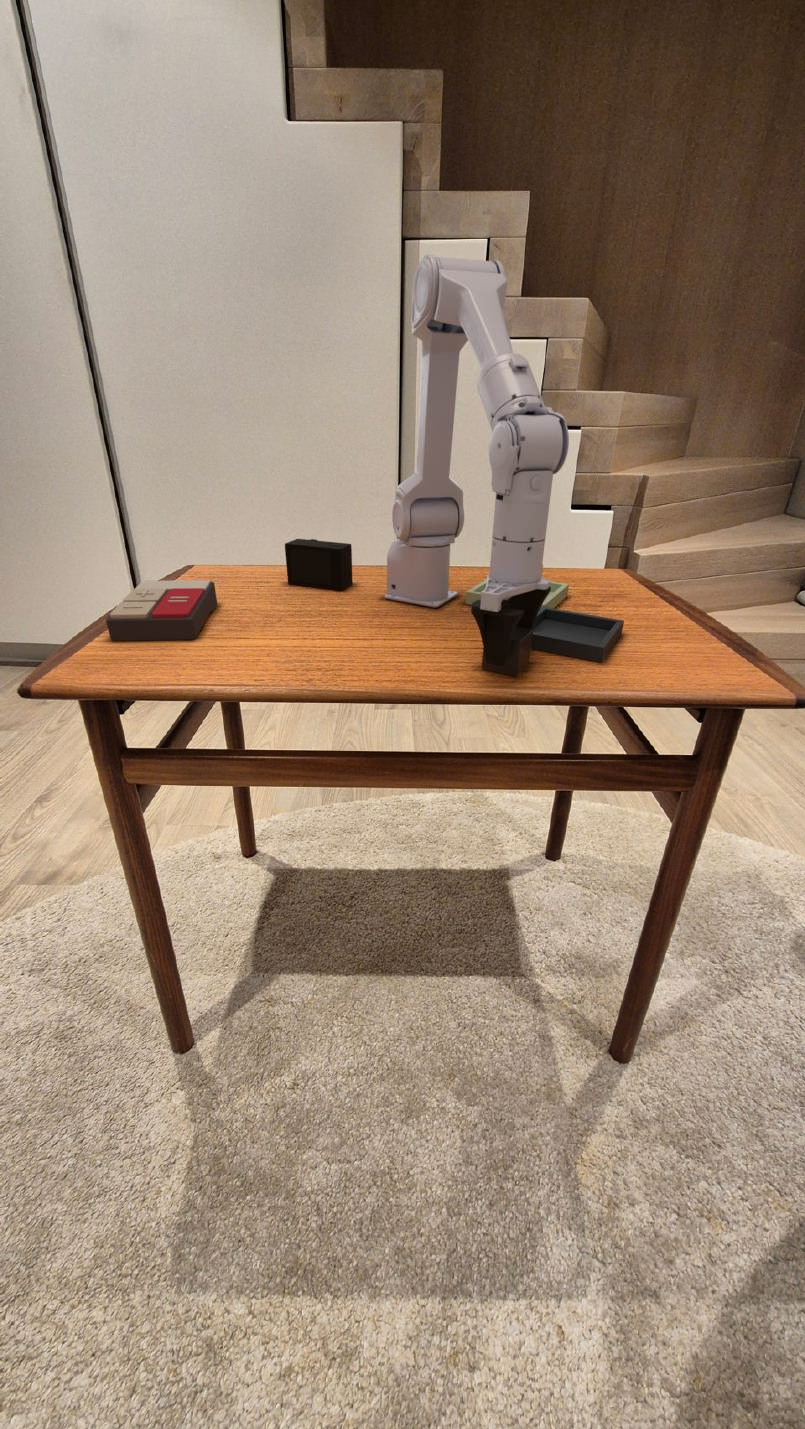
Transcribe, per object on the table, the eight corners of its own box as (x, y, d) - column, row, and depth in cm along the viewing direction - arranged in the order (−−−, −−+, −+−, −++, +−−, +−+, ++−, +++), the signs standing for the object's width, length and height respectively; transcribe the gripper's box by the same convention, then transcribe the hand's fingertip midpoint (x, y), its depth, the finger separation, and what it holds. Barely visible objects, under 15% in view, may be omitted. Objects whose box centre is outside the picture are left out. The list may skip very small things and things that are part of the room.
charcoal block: (481, 669, 72) (484, 633, 70) (495, 656, 75) (498, 622, 73) (516, 677, 70) (520, 641, 68) (529, 664, 73) (533, 629, 71)
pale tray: (465, 604, 94) (466, 591, 93) (495, 584, 104) (496, 573, 103) (543, 617, 88) (544, 604, 88) (567, 596, 98) (569, 584, 97)
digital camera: (356, 582, 104) (355, 541, 100) (342, 591, 99) (341, 548, 96) (303, 576, 107) (300, 536, 103) (287, 584, 102) (284, 543, 99)
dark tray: (512, 644, 79) (514, 630, 78) (540, 619, 88) (542, 606, 87) (601, 662, 74) (604, 647, 73) (621, 634, 83) (624, 620, 82)
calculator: (102, 614, 77) (139, 576, 89) (110, 645, 79) (145, 604, 92) (190, 613, 77) (214, 576, 90) (195, 644, 79) (218, 603, 92)
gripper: (532, 555, 58) (517, 682, 64) (573, 529, 69) (557, 640, 76) (465, 546, 61) (458, 668, 67) (515, 523, 72) (505, 630, 79)
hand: (507, 652), depth 72 cm, fingers open, 7 cm apart
